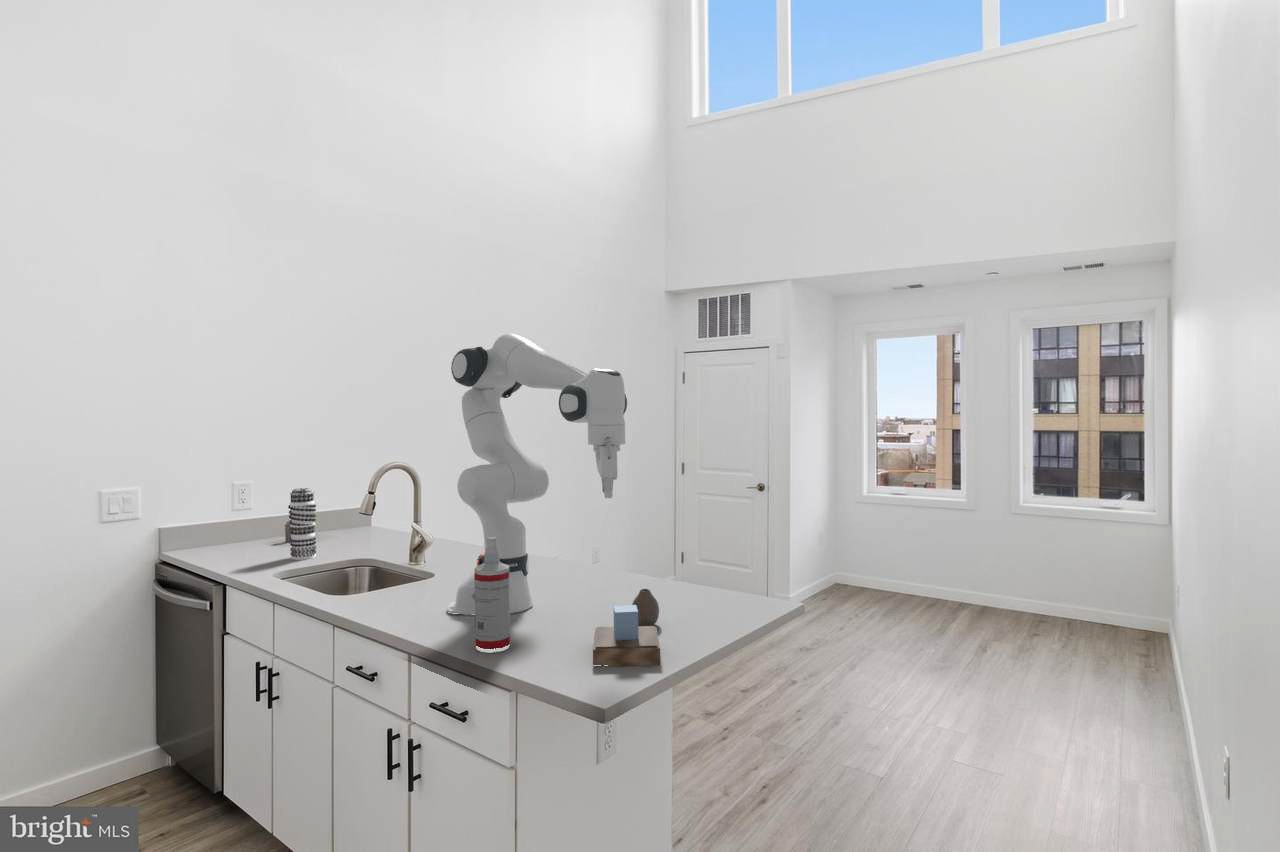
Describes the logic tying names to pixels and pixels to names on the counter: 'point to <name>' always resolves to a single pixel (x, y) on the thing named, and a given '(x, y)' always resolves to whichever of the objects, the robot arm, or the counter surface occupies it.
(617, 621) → the slate block
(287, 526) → the architectural model on board
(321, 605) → the counter surface
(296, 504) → the decorative candle
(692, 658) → the counter surface
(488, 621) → the nozzle bottle
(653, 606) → the vase
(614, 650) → the walnut plinth
